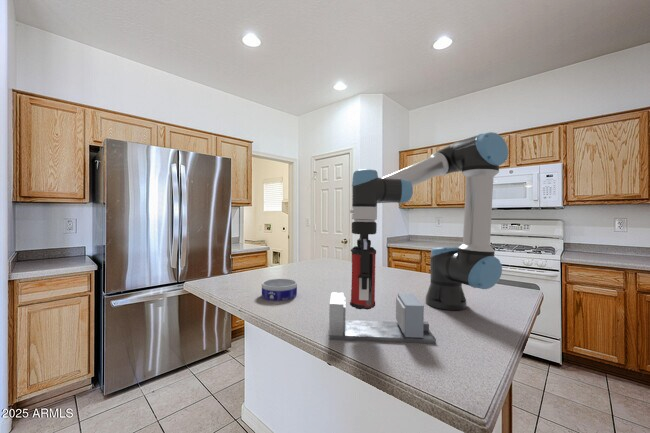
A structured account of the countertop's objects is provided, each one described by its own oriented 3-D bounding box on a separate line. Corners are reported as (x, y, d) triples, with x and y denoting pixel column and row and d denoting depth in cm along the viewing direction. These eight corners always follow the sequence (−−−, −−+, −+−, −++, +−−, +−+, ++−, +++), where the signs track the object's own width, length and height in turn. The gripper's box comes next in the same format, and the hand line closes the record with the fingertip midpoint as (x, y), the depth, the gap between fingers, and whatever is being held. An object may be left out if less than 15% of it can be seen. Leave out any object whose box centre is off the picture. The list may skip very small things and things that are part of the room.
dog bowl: (301, 292, 130) (301, 279, 130) (289, 302, 115) (289, 287, 115) (270, 290, 134) (270, 277, 133) (255, 299, 119) (255, 285, 119)
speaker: (349, 301, 91) (350, 245, 91) (373, 302, 91) (374, 245, 90) (350, 309, 83) (351, 248, 83) (376, 310, 83) (377, 249, 83)
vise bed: (424, 326, 92) (424, 322, 92) (436, 343, 80) (436, 339, 80) (331, 323, 94) (331, 319, 94) (329, 339, 82) (329, 335, 82)
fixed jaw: (345, 320, 93) (345, 292, 93) (345, 335, 81) (345, 304, 81) (331, 319, 94) (331, 292, 94) (329, 335, 82) (329, 303, 82)
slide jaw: (422, 321, 92) (422, 294, 92) (434, 338, 80) (434, 306, 80) (395, 320, 92) (395, 293, 92) (403, 336, 80) (403, 305, 80)
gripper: (351, 220, 97) (349, 287, 97) (352, 221, 77) (351, 306, 77) (373, 220, 96) (372, 287, 97) (380, 222, 76) (379, 307, 77)
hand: (362, 295), depth 87 cm, fingers closed on speaker, 7 cm apart
